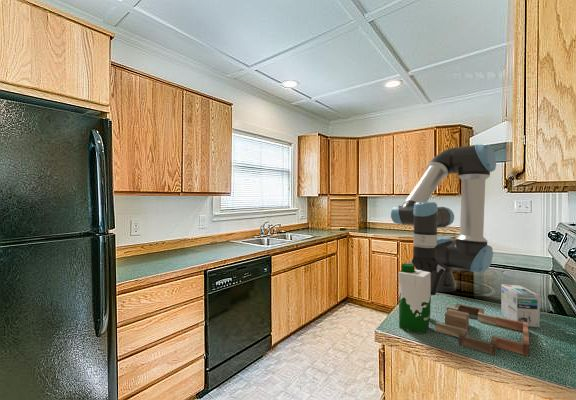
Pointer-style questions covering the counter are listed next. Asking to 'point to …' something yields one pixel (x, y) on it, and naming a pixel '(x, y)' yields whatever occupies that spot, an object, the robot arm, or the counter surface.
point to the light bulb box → (520, 304)
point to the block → (457, 318)
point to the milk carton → (414, 298)
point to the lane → (501, 343)
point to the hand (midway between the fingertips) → (424, 312)
